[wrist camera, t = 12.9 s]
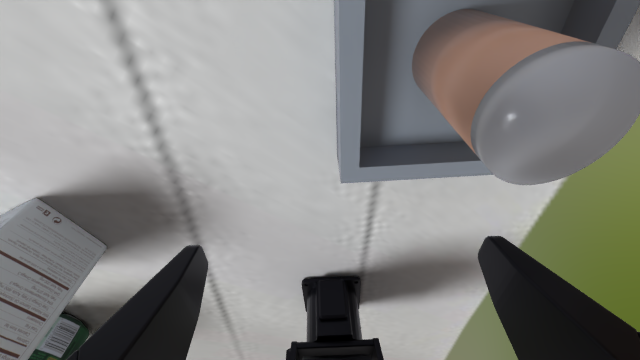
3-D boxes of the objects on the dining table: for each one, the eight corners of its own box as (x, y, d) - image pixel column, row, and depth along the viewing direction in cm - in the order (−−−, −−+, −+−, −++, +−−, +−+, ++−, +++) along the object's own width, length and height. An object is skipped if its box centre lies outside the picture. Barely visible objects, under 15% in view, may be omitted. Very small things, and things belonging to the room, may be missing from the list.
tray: (519, 144, 22) (550, 171, 19) (337, 155, 22) (340, 183, 19) (631, -116, 13) (715, -137, 11) (332, -94, 14) (337, -109, 11)
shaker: (484, 96, 18) (594, 181, 11) (406, 101, 18) (467, 188, 11) (511, 5, 15) (687, 43, 8) (418, 12, 15) (511, 54, 8)
